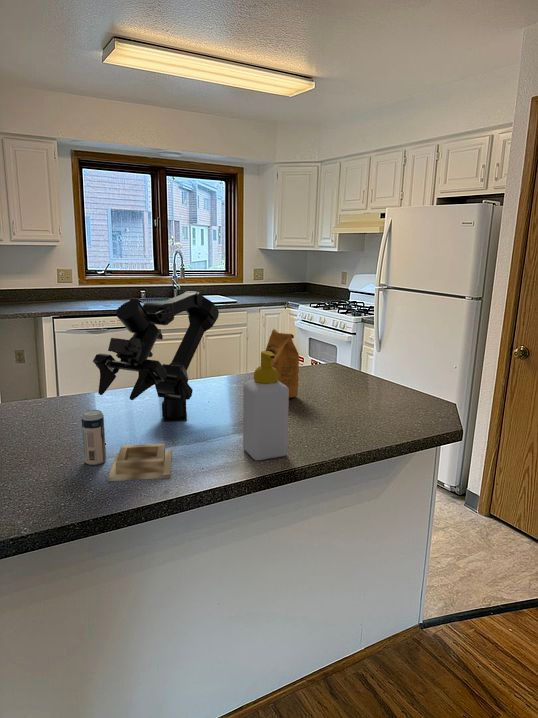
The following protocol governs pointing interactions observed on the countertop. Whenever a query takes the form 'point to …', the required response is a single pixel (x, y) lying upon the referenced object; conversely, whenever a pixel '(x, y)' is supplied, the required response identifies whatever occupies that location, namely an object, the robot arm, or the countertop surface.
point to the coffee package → (285, 360)
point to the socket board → (141, 462)
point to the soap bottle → (265, 412)
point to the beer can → (93, 437)
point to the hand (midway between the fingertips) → (115, 396)
